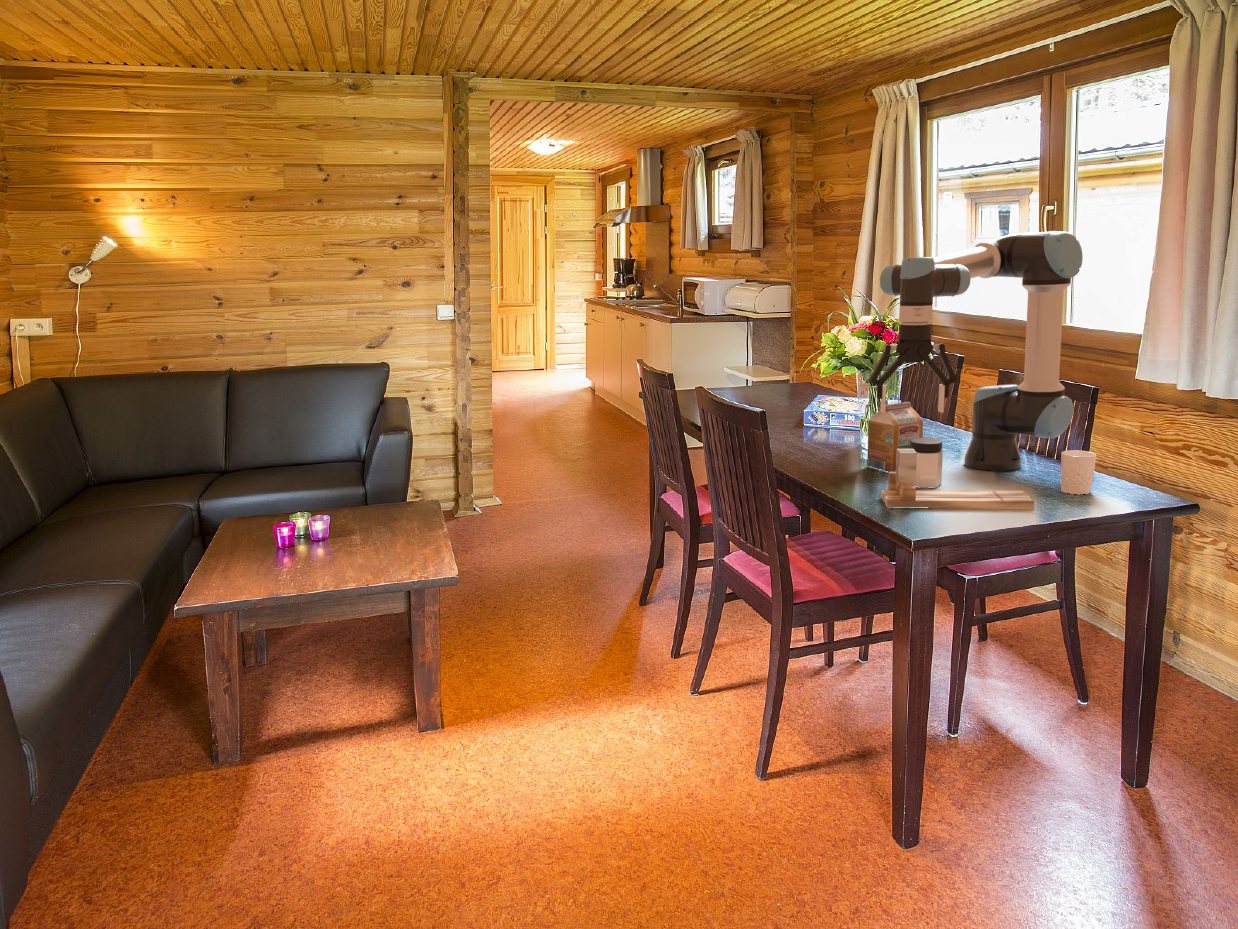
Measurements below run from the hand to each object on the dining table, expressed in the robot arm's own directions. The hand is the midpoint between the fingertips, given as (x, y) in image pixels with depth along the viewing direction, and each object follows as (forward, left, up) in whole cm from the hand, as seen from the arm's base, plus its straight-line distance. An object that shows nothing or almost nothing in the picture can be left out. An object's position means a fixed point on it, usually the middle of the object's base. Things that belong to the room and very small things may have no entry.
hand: (911, 412), depth 225 cm
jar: (-19, +7, -23) cm, 31 cm away
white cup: (-12, +43, -23) cm, 51 cm away
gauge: (0, -1, -23) cm, 23 cm away
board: (0, +11, -23) cm, 26 cm away
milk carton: (-38, +2, -23) cm, 45 cm away
